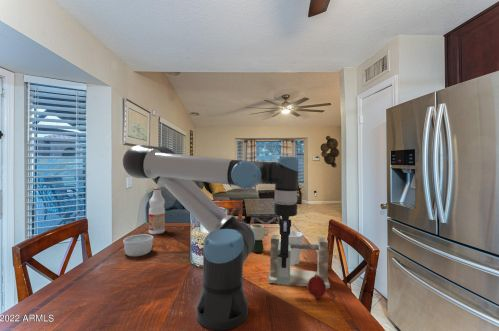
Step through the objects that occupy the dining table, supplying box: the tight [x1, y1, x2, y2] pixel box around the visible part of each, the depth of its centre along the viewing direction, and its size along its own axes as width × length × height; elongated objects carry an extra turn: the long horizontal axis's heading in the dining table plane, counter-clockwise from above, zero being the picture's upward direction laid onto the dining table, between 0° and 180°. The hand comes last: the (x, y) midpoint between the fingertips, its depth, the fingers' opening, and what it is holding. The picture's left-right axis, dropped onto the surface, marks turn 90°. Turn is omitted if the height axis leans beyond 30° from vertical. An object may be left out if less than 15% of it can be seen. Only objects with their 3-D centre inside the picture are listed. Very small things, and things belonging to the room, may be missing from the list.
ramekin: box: [122, 233, 154, 257], centre depth 117 cm, size 13×13×7 cm
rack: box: [267, 234, 331, 289], centre depth 92 cm, size 22×10×16 cm, turn 81°
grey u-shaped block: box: [276, 241, 291, 286], centre depth 80 cm, size 4×8×11 cm, turn 171°
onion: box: [307, 274, 327, 299], centre depth 79 cm, size 6×6×8 cm
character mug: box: [250, 223, 269, 253], centre depth 120 cm, size 11×7×13 cm, turn 85°
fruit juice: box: [148, 186, 166, 235], centre depth 149 cm, size 9×9×28 cm
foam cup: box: [289, 230, 304, 266], centre depth 108 cm, size 10×9×13 cm
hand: (283, 270), depth 80 cm, fingers closed on grey u-shaped block, 8 cm apart
